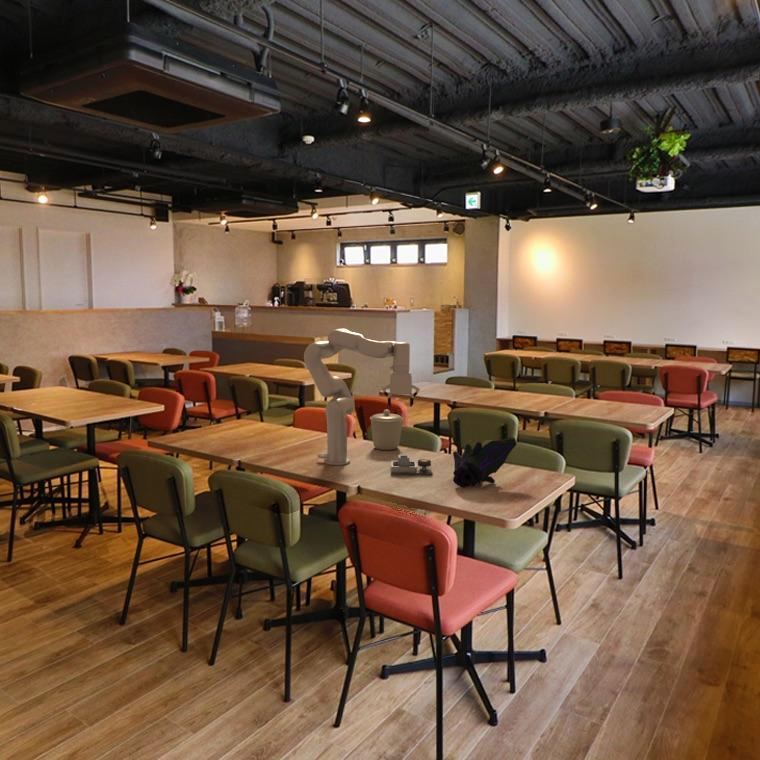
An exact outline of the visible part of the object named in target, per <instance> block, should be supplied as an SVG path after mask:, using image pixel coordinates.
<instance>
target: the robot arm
mask: <svg viewBox="0 0 760 760" xmlns="http://www.w3.org/2000/svg"><path fill="white" fill-rule="evenodd" d="M343 350H347V351H351V352H356V353H357V354H360V355H364V356H367V357H370V358H374V359H375V358H376V359H385V358H386V359H387V358H392V361H393V362H392V366H389V370H392V371H391V372H390V377H389V378H390V379H389V383H388V384H387V385H385V386H383V387H381V390H382V392H383V395H385V396H386V397H387V405H388V407H392V405H391V404H392V398H391V397H392V395H409V396H410V397H409V407H410V408H412V407H413V406H414V398H415V397H416V396H418V394H419V392H420V388H419V387H418V386H416V385H413V378H412V372H410V361H411V360H410V358H411V357H410V353H411V352H410V350H411V345H410V343H409V342H404V341H390V340H385V341H378V340H372V339H368V338H365V337H364V335H363V334H361V333H357V332H352V331H350V330H349V329H348V328H336V329H335V328H334V329H332V330H331V331H330V332H329V333H328V334H327V339H326V340H322V341H315V342H312V343H310V344H309V345H307V347H306V348H305V350H304V354H303V360H304V361H303V362H304V365H305V366H306V369H307V370H308V372H309V374H310V376H311V377H312V379H313V382H314V384H315V386H316V388H317V390H318V393H319V394H320V396H322V397H323V398H332V399H330V400H329V401H327V403H326V405H325V416H326V424H327V425H326V427H327V429H326V430H327V431H326V432H327V435H326V436H327V439H326V444H327V446H326V447H327V448H326V449H327V450H326V452H324V453H318V454H317V458H320V459H323V463H324V464H326V465H330V466H344V465H348V464H350V463H351V459H350V458H348V457H347V455H348V424H347V420H346V416H348V415H350V414H352V413H353V412H354V410H355V407H356V405H355V400H354V398H353V396H352V393H351V392H350V390H349V388H348V386H347V383H346V382H345V381H344V379H342V378H341V377H339V376H335V375H333V376H332V375H331V373H330V371H329V369H328V366H326V364H325V363H324V362H323V361H322V360H324V359H329V358H332V357H334V356H335V355H337V354H338V353H340V352H342V351H343ZM388 389H389V393H388V392H387V390H388ZM413 390H415V392H413V393H412V391H413Z"/></svg>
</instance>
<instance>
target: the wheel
mask: <svg viewBox="0 0 760 760" xmlns="http://www.w3.org/2000/svg"><path fill="white" fill-rule="evenodd" d="M417 466H422V467H428V466H431V467H432V460H431V459H426V458H424V459H418V460H417Z"/></svg>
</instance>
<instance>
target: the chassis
mask: <svg viewBox="0 0 760 760" xmlns="http://www.w3.org/2000/svg"><path fill="white" fill-rule="evenodd" d="M419 475H420V476H421V475H422V477H423V476H425V475H426V476H427V477H428V476H429V477H431V476H432V477H433V476H434V474H433V469H432V465H431V466H428V467H422V466H418V464H417V461H415V460H409V467H408V466H398V460H391V461H390V476H419ZM426 476H425V477H426Z"/></svg>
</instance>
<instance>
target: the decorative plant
mask: <svg viewBox="0 0 760 760" xmlns="http://www.w3.org/2000/svg"><path fill="white" fill-rule="evenodd" d="M517 445H518V444H517V440H516V438H515V437H508V438H504V439H497V440H494V439H493V440H490V441H489V442H487V443H486V444H484V446H483V445H482V442H480V441H479V442H478V441H476V443H475V445H474V447H473V448H472V446H471V444H470V443H467V444H465V447H464V450H463V453H462V454H461V455H460V453H459V452H458V451H457V450H454V451H453V452H452V456H453V458H454V459H453V460H454V471H453V473H452V474H453V478H452V480H453V483H454V484H455V485H456V486H458V487H459V488H468V487H470V486H471V487H473V488H474V487H476V486H477V485H478V484H479V485H480V484H481V483H483V482H486V483H490V484H495V482H496V481H495V479H494V478H493V477H492V476H490V475H492V474H496V473H497V472H498V470H500V468H501V467H502V466H504V464H505V462H506V460H507V459H508V457H509V455H510V453H512V450H514V449H515V447H516V446H517Z"/></svg>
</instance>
